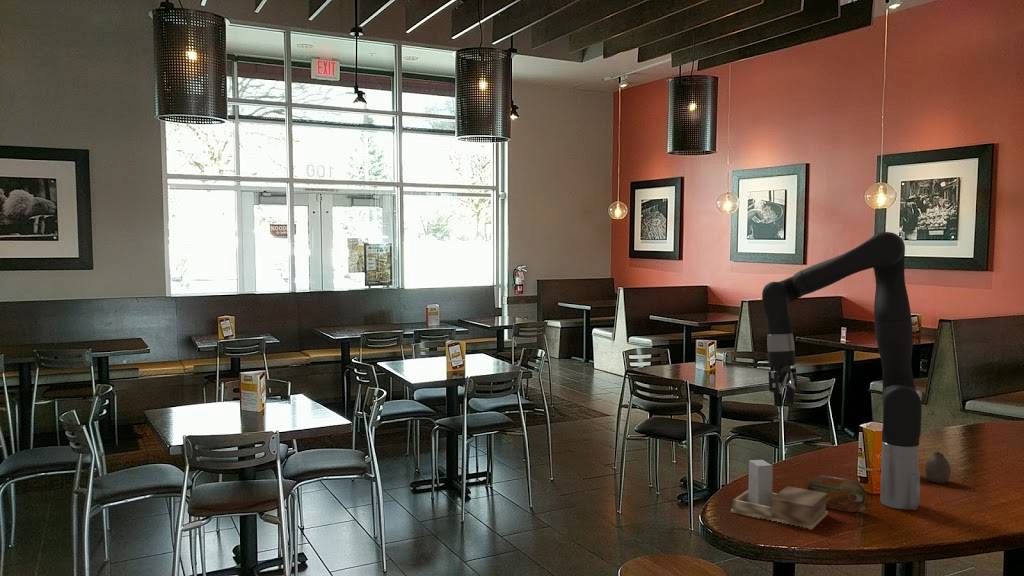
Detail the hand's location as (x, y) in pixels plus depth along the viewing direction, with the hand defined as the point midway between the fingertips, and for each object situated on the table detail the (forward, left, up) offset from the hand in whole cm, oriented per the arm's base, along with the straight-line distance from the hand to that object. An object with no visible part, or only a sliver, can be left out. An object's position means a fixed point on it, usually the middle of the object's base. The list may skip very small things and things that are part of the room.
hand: (784, 404), depth 223 cm
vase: (-35, -35, -25) cm, 55 cm away
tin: (-17, +8, -25) cm, 31 cm away
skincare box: (-1, +22, -24) cm, 33 cm away
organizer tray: (-6, +22, -25) cm, 34 cm away
